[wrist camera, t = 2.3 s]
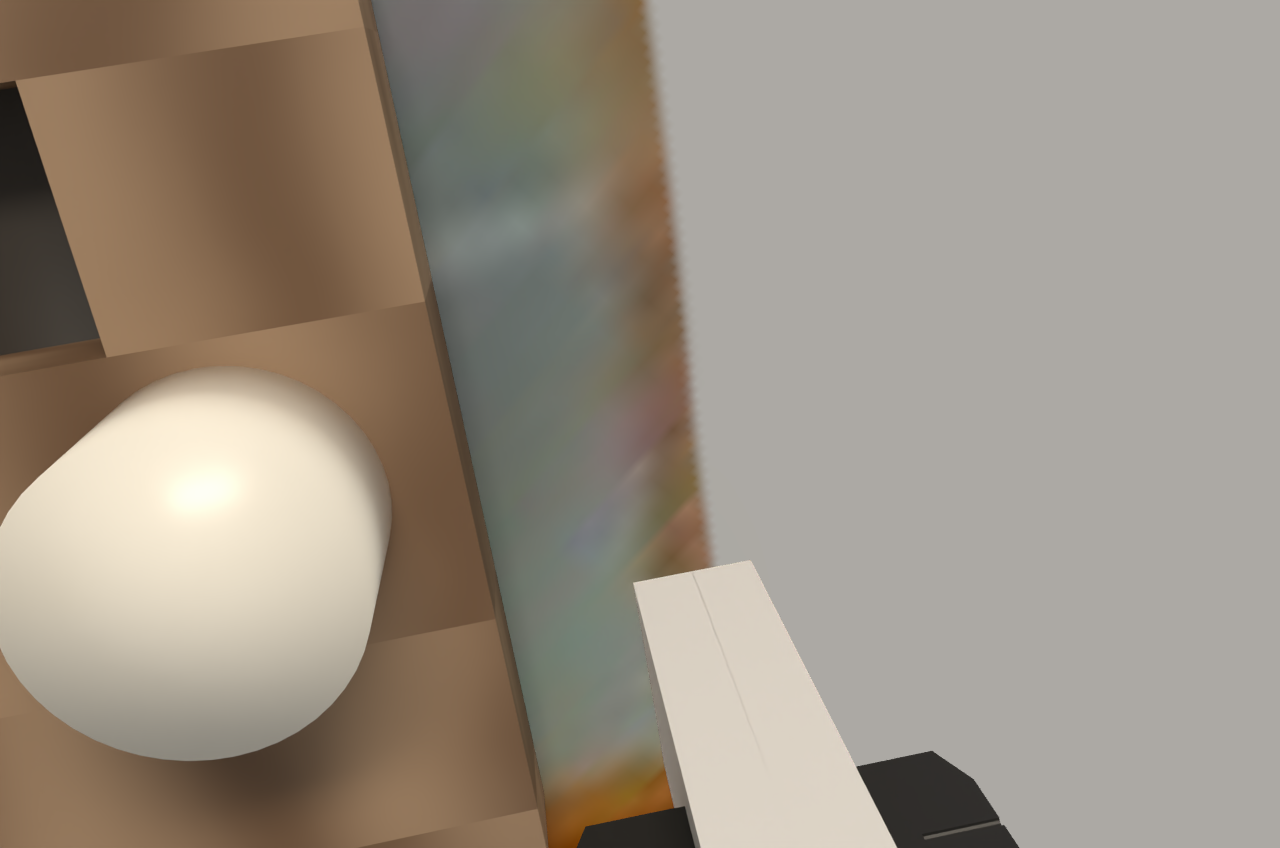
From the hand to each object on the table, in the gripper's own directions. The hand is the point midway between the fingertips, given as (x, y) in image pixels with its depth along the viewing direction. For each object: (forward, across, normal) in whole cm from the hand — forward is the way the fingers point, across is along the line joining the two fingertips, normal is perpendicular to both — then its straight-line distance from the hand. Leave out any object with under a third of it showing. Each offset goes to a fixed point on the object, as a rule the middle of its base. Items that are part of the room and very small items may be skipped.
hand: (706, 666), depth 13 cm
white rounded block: (+9, -8, 0) cm, 12 cm away
